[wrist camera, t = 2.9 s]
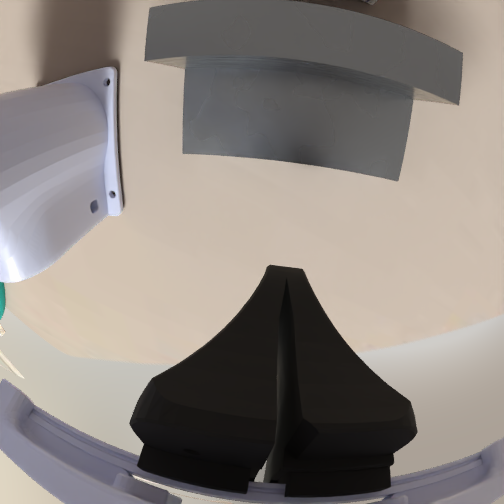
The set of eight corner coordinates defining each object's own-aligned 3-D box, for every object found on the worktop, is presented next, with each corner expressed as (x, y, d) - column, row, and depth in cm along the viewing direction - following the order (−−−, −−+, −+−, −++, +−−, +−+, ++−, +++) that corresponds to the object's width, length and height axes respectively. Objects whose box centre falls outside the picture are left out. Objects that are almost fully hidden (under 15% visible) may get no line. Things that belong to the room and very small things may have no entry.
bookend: (383, 169, 13) (434, 215, 8) (196, 145, 14) (144, 177, 9) (399, 64, 10) (462, 53, 5) (202, 38, 10) (149, 7, 5)
